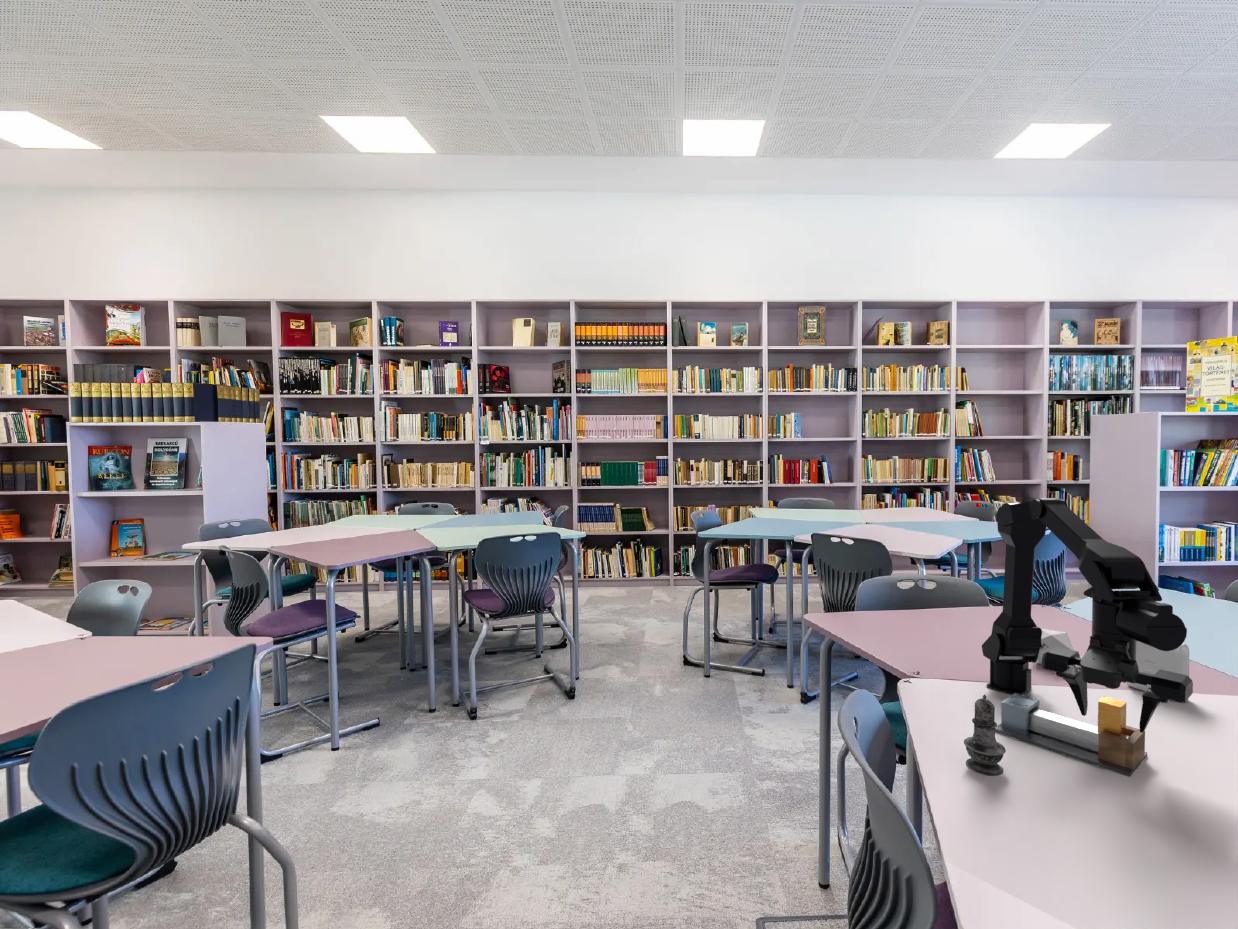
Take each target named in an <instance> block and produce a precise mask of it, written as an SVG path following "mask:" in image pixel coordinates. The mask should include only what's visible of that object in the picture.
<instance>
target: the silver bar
mask: <svg viewBox="0 0 1238 929" xmlns="http://www.w3.org/2000/svg"><path fill="white" fill-rule="evenodd" d="M1097 703H1098V704H1097V705H1098V706H1097V725H1094V724H1090V723H1088V722H1087V723H1086V722H1083V721H1080V720H1075V719H1073V718H1069V717H1067V716H1062V715H1059V714H1056V713H1052V712H1048V711H1045V710H1042V709H1040V708H1039V709H1036V708H1033V709H1031V710H1030V711H1029V712H1028V729H1029V730H1032V731H1035V732H1038V733H1041V734H1044V735H1047V736H1050V737H1054V738H1057V739H1060V740H1063V741H1066V742H1069V743H1072V744H1076V745H1079V746H1082V747H1085V748H1088V749H1091V750H1094V751H1097V752H1098V741H1099V732H1100V731H1103V732H1106V733H1110V734H1113V735H1117V736H1120V737H1123V738H1127V739H1128V738H1129V737H1130V736H1128V735H1126V726H1127V702H1126V701H1123V700H1119V699H1115V698H1113V697H1108V696H1103V697H1102V698H1100V699H1099V700H1098V702H1097Z"/></svg>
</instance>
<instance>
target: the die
mask: <svg viewBox="0 0 1238 929" xmlns="http://www.w3.org/2000/svg"><path fill="white" fill-rule="evenodd" d="M1041 630H1042V637H1041V644H1042V647H1040V651H1039V654H1038V658H1037V661H1036V663H1037V664H1038V665H1041V666H1042V657H1043V654H1044V653H1046V652H1048V651H1049V650H1051V649H1052V648H1054V647H1060V648H1065V649H1069V650H1074V651H1075V649H1074V646H1073V644H1072V641H1071V639H1070V636H1069V634H1068V632H1064V631H1060V630H1059V631H1057V630H1052V629H1047V628H1041Z"/></svg>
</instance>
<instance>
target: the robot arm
mask: <svg viewBox="0 0 1238 929" xmlns="http://www.w3.org/2000/svg"><path fill="white" fill-rule="evenodd" d="M995 518H996V524H997V532H998V534H999V535H1000V537H1001V538H1002V540H1003V541H1004V543H1005V560H1004V576H1003V577H1004V578H1003V582H1004V583H1003V597H1002V598H1003V600H1002V611H1001V613H1000V614H999V615H998V617H997V618H996V619H995V620H994V621H993V623H992V629H991V634H990V636H989V637H988V638H987V639H986V640H985V641H984V642H983V643H982V645H981V651H982V655H983V656H984V657H985V658H986V659H988V660H989V682H988V683H986V687H987V688H991V689H993V690H996V691H1001V692H1003V693H1007V694H1011V695H1013V694H1014V693H1017V694H1021V695H1024V694H1025V693H1027V692H1029V691H1030V690H1031V689H1032V688H1033V687H1032V669H1030V668H1029V663H1034V664H1035V663H1037V658H1038V654H1039V651H1040V647H1042V644H1041V637H1042V630H1041V629H1042V628H1041V627H1039V626H1037V624H1036V622H1035V620H1034V619H1033V618H1032V605H1033V604H1032V603H1033V590H1034V589H1033V586H1034V585H1033V584H1034V567H1035V552H1036V547H1037V546H1038V545H1039V544H1040V543H1041V542H1040V541H1042V539H1043V538H1044V537H1045V536H1046V532H1047V529H1048V531H1050V532H1051V533H1052V534H1053V535H1054V536H1055V537H1056V538H1057V539H1058V540H1060V542H1062V544H1063V545H1064V546H1065V547H1066V548H1067V549H1068V550H1069V551H1070V552H1071V553H1072V554H1074V556H1075V557H1076V558H1077V560H1078V570H1079V571H1080V573H1081V574H1082V576H1083V577H1084V579H1085V580H1086V581H1087V583H1088V584H1089V585H1090V586H1091V587H1089V588H1087V589H1085V590H1084V591H1083V596H1085V597H1089V598H1091V599H1092V600H1091V602H1092V607H1091V635H1090V636H1089V637H1090V638H1089V645H1088V648H1087V649H1086V651H1085V653H1084V655H1083V657H1081V656H1080V652H1079V651H1078V650H1075V649H1074V650H1069V649H1065V648H1060V647H1054V648H1052V649H1051V650H1049V651H1048V652H1046V653H1044V654H1043V657H1042V665H1041V667H1042V668H1043V670H1047V671H1048V670H1049V671H1052V672H1056V673H1055V675H1056V676H1057V677H1059V678H1062V679H1063V680H1064V681H1065V682H1066V683H1067V684H1068V686H1069V688H1070V689H1071V691H1072V693H1073V696H1074V699H1075V702H1076V703H1077V706H1078V709H1079V712H1080V714H1081V716H1083V717H1085V716H1087V713H1088V705H1089V704H1088V703H1089V702H1088V684H1091V685H1092V684H1094V685H1100V686H1103V687H1105V688H1107V689H1112V690H1114V689H1118V688H1120V686H1121V683H1125V684H1127V682H1129V683H1133V684H1134V683H1138V684H1142V685H1146V686H1147V689H1148V690H1147V691H1144V692H1143V694H1142V695H1141V697H1142V698H1141V699H1142V704H1141V705H1142V706H1141V712H1140V719H1139V724H1138V725H1139V729H1140V732H1142V733H1143V732H1144V731H1145V732H1146V729H1147V727H1148V725H1149V723H1150V720H1151V719H1152V717H1153V715H1154V713H1155V711H1156V709H1157V708H1158V706H1159V704H1162V703H1163V704H1167V703H1169V702H1170V701H1174V702H1178V703H1187V702H1188V701H1187V699H1188V700H1189V698H1190V697H1191V696H1192V695H1193V693H1194V688H1193V687H1194V682H1193V680H1192V678H1190V675H1189V676H1188V675H1183V674H1179V673H1174V672H1170V671H1165V670H1159V671H1158V672H1157V673H1156V674H1154V675H1152V674H1148V673H1143V672H1139V669H1138V664H1137V660H1136V642H1137V641H1139V642H1141V643H1144V644H1146V645H1149V646H1151V647H1154V648H1156V649H1159V650H1162V651H1171V650H1174V649H1177V648H1178V647H1179V646H1181V645H1182V644H1183V643H1185V641H1186V638H1187V635H1188V631H1187V630H1188V628H1187V627H1186V625H1185V623H1184V621H1183V619H1182V618H1181V617H1180V616H1178V615H1176V614H1174V611H1173V610H1174V609H1173V608H1174V607H1173V606H1172V605H1171V604H1169V603H1165V602H1164V603H1163V602H1162V601H1163V597H1162V596H1161V593H1160V592H1159V591H1160V589H1159V587H1158V586H1157V585H1156V583H1155V582H1154V581H1153V578H1152V576H1151V575H1150V573H1149V571H1148V568H1147V567H1146V564H1145V563H1144V561H1143V559H1141V557H1139V556H1138V555H1137V554H1135V553H1133V552H1131V551H1130V550H1129V549H1127V548H1125V547H1123V546H1121V545H1118V544H1114V543H1112V542H1109V541H1107V540H1105V539H1104V538H1102V537H1101V535H1099V533H1097V532H1096V531H1095V530H1094V529H1093V528H1091V527H1090V526H1089V525H1088V523H1086V522H1085V521H1084V520H1083V519H1082V518H1080V517H1079V516H1078V515H1077V514H1076V513H1075V512H1074V511H1073V510H1071V509H1070V508H1069V506H1068V503H1067V502H1066V501H1065V499H1062V498H1060V497H1045V498H1044V497H1042V498H1041V497H1040V498H1038V497H1037V498H1035V499H1032V500H1030V501H1024V502H1005V503H1003V504H1001V506H1000V507H998V509H997V510H996V515H995Z"/></svg>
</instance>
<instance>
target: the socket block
mask: <svg viewBox="0 0 1238 929" xmlns="http://www.w3.org/2000/svg"><path fill="white" fill-rule="evenodd" d="M1126 735H1128V736H1130V737H1129V738H1128V739H1127V738H1123V737H1120V736H1117V735H1113V734H1110V733H1106V732H1103V731H1100V732H1099V741H1098V758H1099V759H1102V760H1105V761H1108V762H1111V763H1114V764H1117V765H1120V766H1124V767H1127V768H1130V769H1134V768H1135V767H1136V766H1137V764H1138V763H1139V762H1140V761H1141V760H1142V758H1143V757H1144V756H1145V752H1146V743H1145V742H1146V730H1145V731H1144V732H1143V733H1142V732H1140V728H1136V727H1132V726H1129V725H1126Z"/></svg>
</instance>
